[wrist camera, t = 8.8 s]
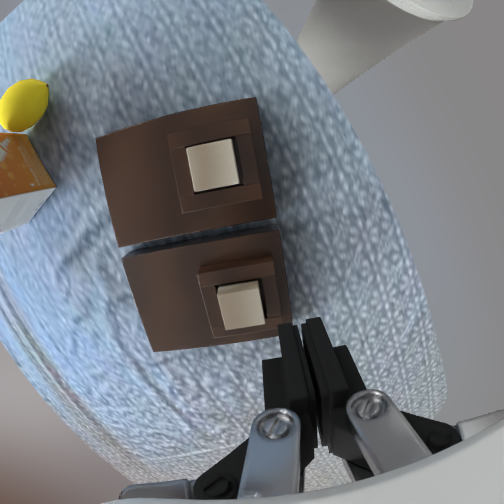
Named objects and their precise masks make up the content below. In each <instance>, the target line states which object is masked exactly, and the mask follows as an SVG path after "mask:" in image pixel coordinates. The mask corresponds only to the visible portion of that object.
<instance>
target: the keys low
mask: <svg viewBox="0 0 504 504" xmlns="http://www.w3.org/2000/svg"><path fill="white" fill-rule="evenodd" d="M226 139H232V141H233V146H234V152H235V157H236V163H237V168H238V174H239V179H240V182H239V184H234V185H229V186H223V187H218V188H213V189H208V190H203V191H198V192H195V191H194V187H193V182H192V177H191V172H190V167H189V161H188V156H187V151H186V148H188V147H192V146H197V145H201V144H206V143H211V142H216V141H221V140H226ZM96 145H97V152H98V158H99V163H100V169H101V174H102V180H103V185H104V190H105V194H106V199H107V204H108V208H109V212H110V217H111V221H112V225H113V229H114V233H115V237H116V240H117V244H118V247H119V248H120V247H124V246H129V245H134V244H139V243H144V242H149V241H153V240H158V239H163V238H168V237H173V236H179V235H184V234H189V233H194V232H199V231H205V230H210V229H215V228H221V227H226V226H232V225H237V224H243V223H248V222H254V221H260V220H266V219H271V218H276V217H277V214H276V208H275V201H274V195H273V189H272V183H271V178H270V172H269V166H268V160H267V154H266V149H265V143H264V138H263V132H262V127H261V121H260V116H259V111H258V106H257V100H256V97H254V98H247V99H241V100H235V101H230V102H224V103H219V104H214V105H209V106H204V107H200V108H195V109H191V110H187V111H182V112H178V113H174V114H171V115H167V116H163V117H159V118H156V119H152V120H149V121H145V122H142V123H139V124H135V125H132V126H129V127H126V128H123V129H120V130H117V131H114V132H111V133H108V134H105V135H103V136H100V137H97V138H96Z"/></svg>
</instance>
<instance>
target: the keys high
mask: <svg viewBox="0 0 504 504" xmlns="http://www.w3.org/2000/svg"><path fill="white" fill-rule="evenodd" d="M122 262H123V266H124V269H125V273H126V276H127V279H128V282H129V285H130V288H131V292H132V295H133V298H134V301H135V304H136V306H137V309H138V312H139V315H140V318H141V321H142V323H143V326H144V329H145V331H146V334H147V337H148V339H149V342H150V344H151V347H152V350H153V352H160V351H171V350H181V349H191V348H200V347H208V346H216V345H223V344H231V343H238V342H244V341H251V340H257V339H263V338H269V337H275V336H279V334H278V328H277V324H283V323H288V322H291V324H292V326H293V323H292V315H291V308H290V301H289V293H288V286H287V279H286V272H285V266H284V259H283V252H282V246H281V239H280V233H279V229H278V227H277V225H271V226H265V227H259V228H253V229H248V230H242V231H237V232H231V233H225V234H220V235H214V236H209V237H204V238H198V239H193V240H188V241H182V242H177V243H172V244H167V245H162V246H156V247H151V248H146V249H141V250H136V251H131V252H129V253H128V254H127V255H125V256H124V257H123V258H122ZM253 280H258V284H259V289H260V295H261V300H262V306H263V311H264V318H265V324H262V325H256V326H250V327H243V328H237V329H230V330H226V329H225V325H224V321H223V317H222V313H221V309H220V305H219V301H218V297H217V293H218V288H219V286H223V285H229V284H235V283H241V282H247V281H253Z"/></svg>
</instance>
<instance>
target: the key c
mask: <svg viewBox="0 0 504 504" xmlns="http://www.w3.org/2000/svg"><path fill="white" fill-rule="evenodd" d="M186 151H187V156H188V161H189V167H190V172H191V177H192V182H193V187H194V191H195V192H198V191H203V190H208V189H213V188H218V187H223V186H229V185H234V184H239V182H240V179H239V174H238V168H237V163H236V157H235V152H234V146H233V141H232V139H226V140H221V141H216V142H211V143H206V144H201V145H197V146H192V147H188V148H186Z"/></svg>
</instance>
